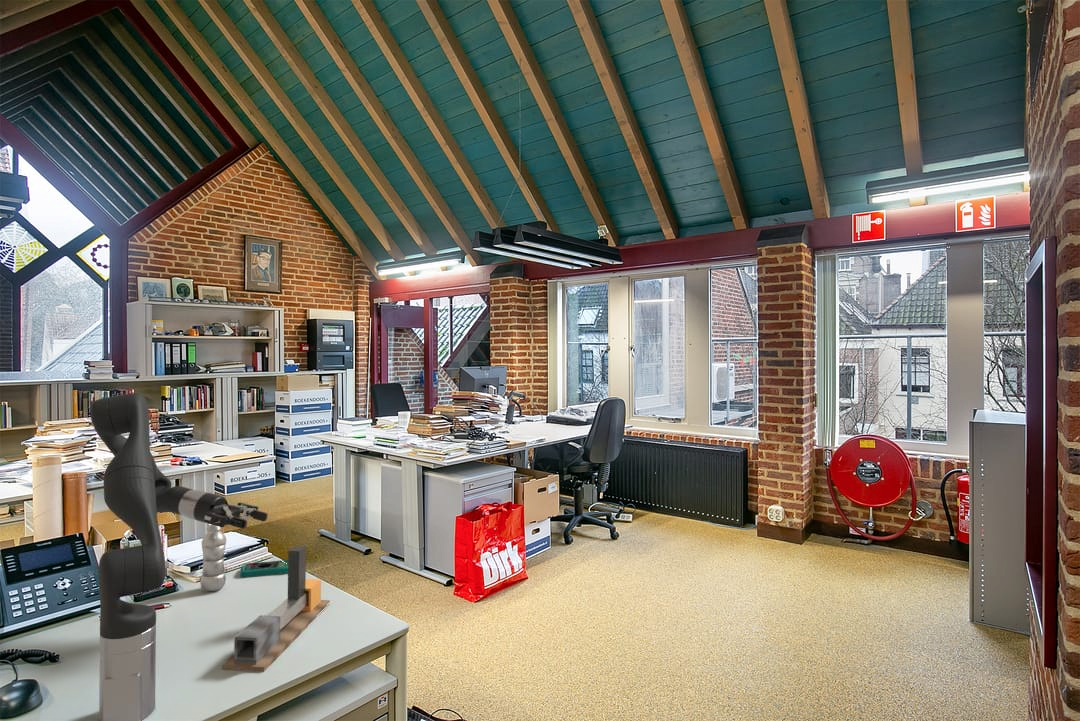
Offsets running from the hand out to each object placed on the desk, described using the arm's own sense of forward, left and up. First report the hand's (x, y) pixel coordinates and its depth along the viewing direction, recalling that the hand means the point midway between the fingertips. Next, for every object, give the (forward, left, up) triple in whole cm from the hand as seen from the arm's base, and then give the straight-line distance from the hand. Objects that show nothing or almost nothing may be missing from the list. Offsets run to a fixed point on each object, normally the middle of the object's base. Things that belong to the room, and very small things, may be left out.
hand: (256, 520), depth 157 cm
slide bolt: (-4, -8, -25) cm, 26 cm away
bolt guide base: (-8, -7, -27) cm, 29 cm away
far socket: (+5, -12, -26) cm, 30 cm away
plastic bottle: (+28, +14, -28) cm, 41 cm away
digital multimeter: (+38, 0, -28) cm, 48 cm away
